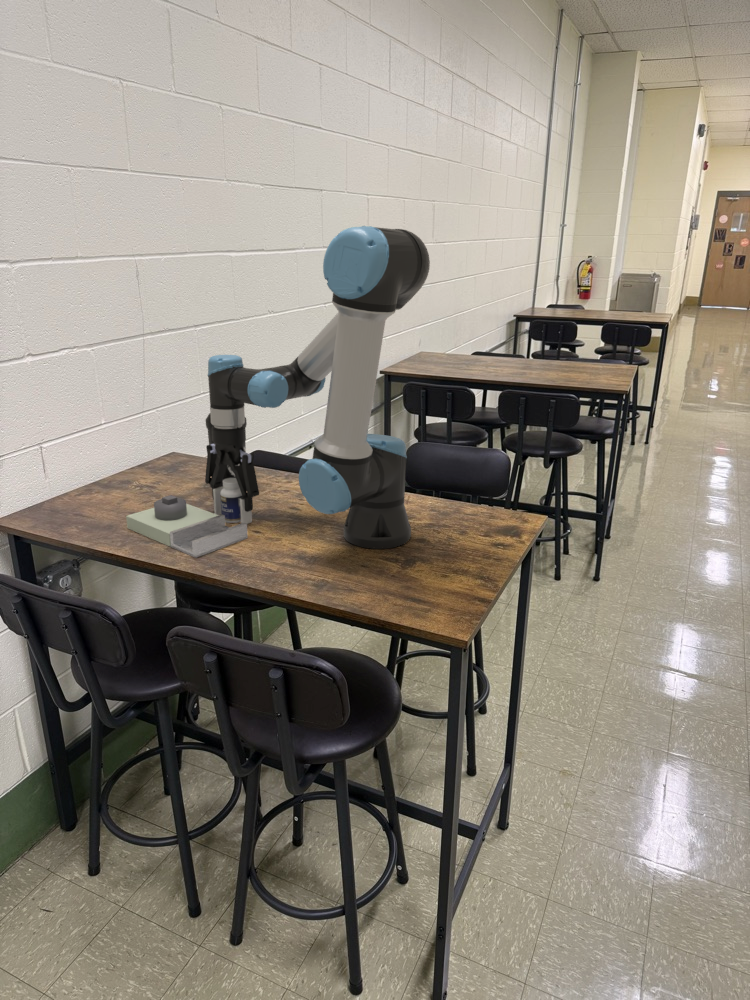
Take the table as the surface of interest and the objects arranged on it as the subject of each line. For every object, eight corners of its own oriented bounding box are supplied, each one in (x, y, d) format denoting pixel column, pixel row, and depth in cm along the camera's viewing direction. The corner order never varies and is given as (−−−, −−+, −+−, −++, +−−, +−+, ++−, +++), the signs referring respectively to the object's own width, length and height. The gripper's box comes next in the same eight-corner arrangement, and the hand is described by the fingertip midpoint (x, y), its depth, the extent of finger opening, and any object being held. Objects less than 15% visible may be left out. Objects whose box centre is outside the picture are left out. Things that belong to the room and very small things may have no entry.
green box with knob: (221, 528, 157) (220, 498, 155) (170, 546, 147) (167, 515, 144) (178, 512, 166) (176, 483, 164) (127, 528, 156) (124, 498, 154)
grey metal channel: (247, 538, 152) (247, 523, 151) (196, 557, 142) (195, 542, 140) (222, 528, 157) (221, 514, 156) (170, 547, 147) (169, 531, 145)
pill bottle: (217, 521, 161) (215, 482, 158) (228, 514, 166) (226, 475, 163) (238, 524, 159) (236, 484, 156) (248, 517, 164) (247, 478, 161)
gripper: (273, 430, 152) (276, 525, 159) (210, 415, 164) (216, 504, 172) (247, 436, 146) (252, 534, 153) (184, 420, 158) (191, 511, 166)
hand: (233, 518), depth 163 cm, fingers open, 9 cm apart
